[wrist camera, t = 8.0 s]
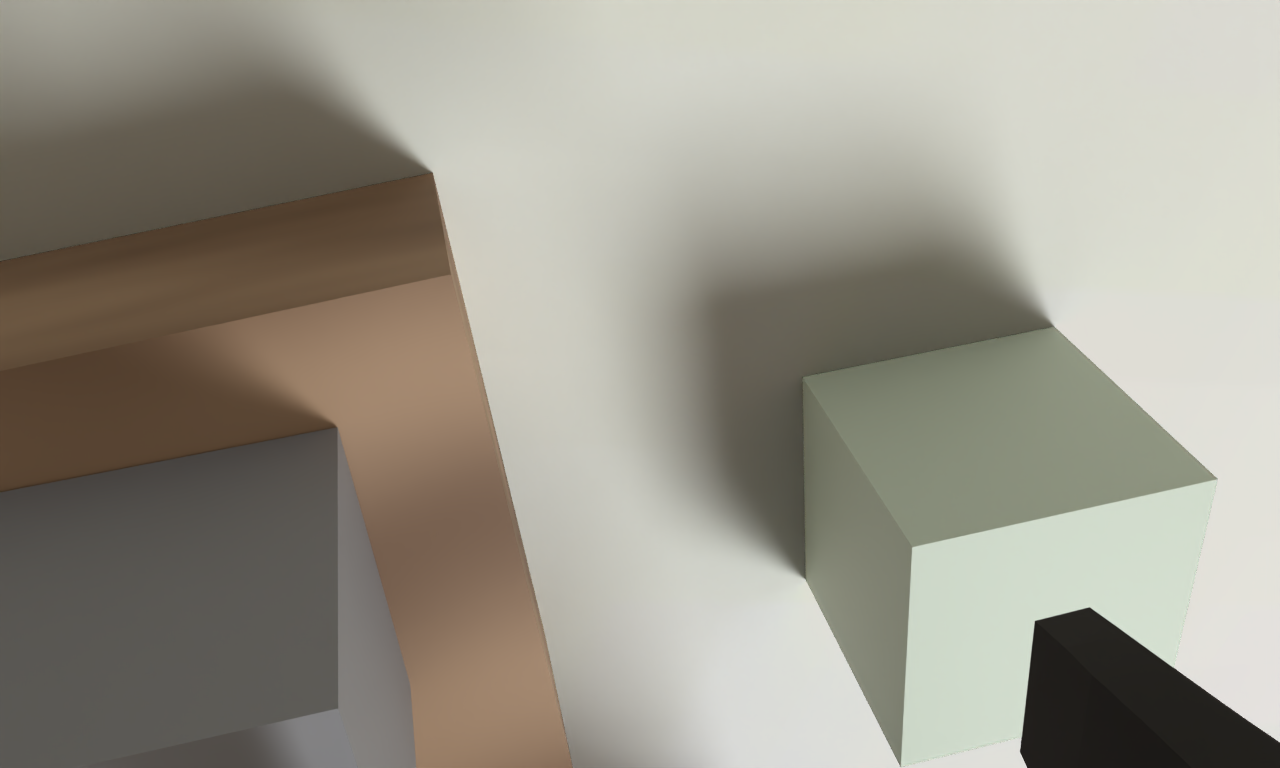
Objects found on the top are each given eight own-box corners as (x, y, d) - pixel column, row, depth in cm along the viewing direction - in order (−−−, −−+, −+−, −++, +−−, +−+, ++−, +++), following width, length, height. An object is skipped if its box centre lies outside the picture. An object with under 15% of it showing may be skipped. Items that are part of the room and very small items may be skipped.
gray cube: (410, 684, 18) (432, 986, 14) (81, 758, 18) (2, 1099, 13) (337, 427, 15) (338, 708, 11) (-58, 503, 15) (-208, 832, 11)
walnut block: (542, 620, 24) (574, 778, 20) (36, 747, 22) (-17, 935, 19) (431, 162, 18) (451, 274, 15) (-245, 299, 17) (-389, 454, 14)
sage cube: (1027, 526, 25) (1165, 701, 21) (804, 576, 24) (901, 767, 20) (1051, 324, 22) (1217, 479, 18) (801, 374, 21) (912, 546, 17)
